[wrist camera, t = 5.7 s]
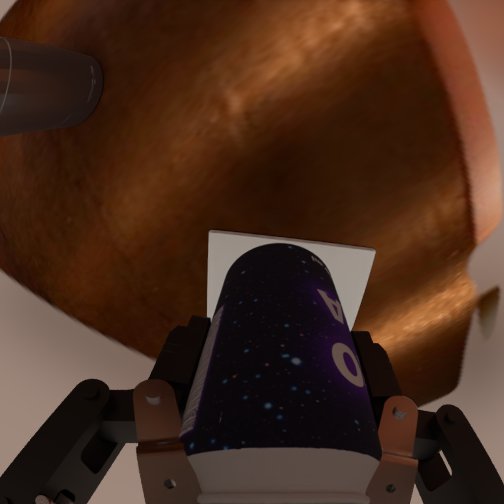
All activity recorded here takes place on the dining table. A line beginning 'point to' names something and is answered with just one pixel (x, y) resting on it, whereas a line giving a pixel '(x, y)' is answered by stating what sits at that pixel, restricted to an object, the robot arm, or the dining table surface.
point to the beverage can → (280, 390)
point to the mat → (333, 255)
